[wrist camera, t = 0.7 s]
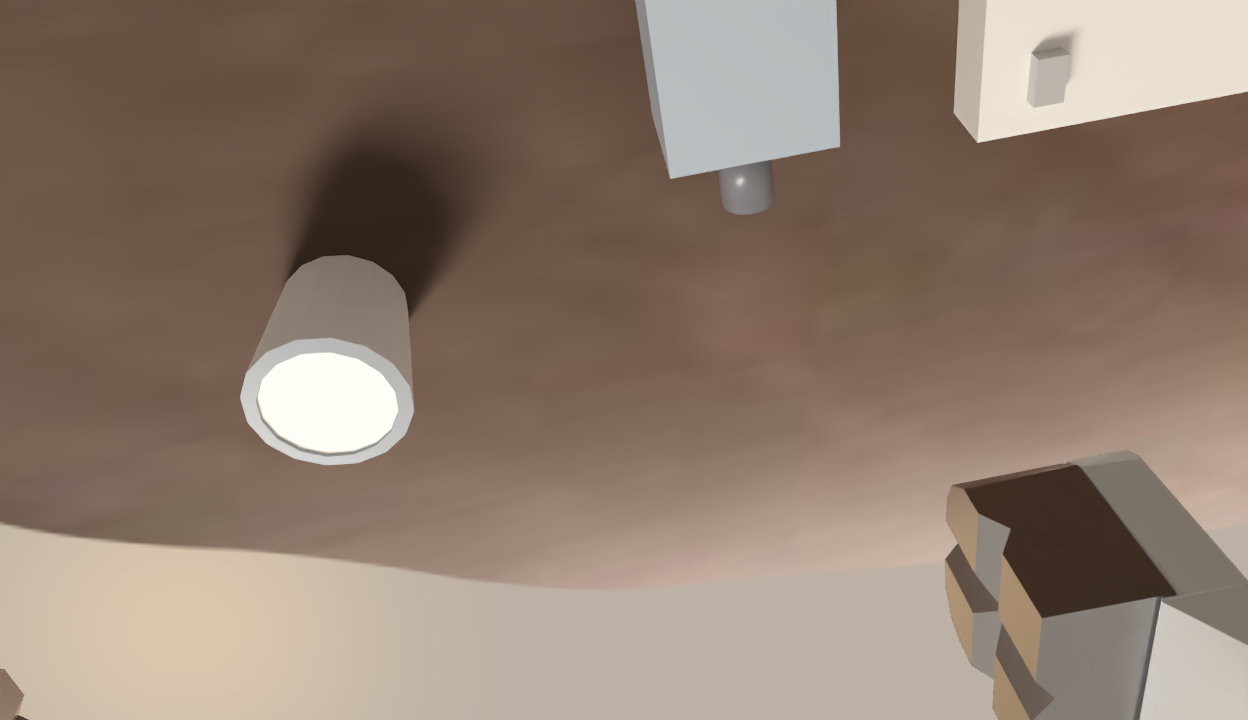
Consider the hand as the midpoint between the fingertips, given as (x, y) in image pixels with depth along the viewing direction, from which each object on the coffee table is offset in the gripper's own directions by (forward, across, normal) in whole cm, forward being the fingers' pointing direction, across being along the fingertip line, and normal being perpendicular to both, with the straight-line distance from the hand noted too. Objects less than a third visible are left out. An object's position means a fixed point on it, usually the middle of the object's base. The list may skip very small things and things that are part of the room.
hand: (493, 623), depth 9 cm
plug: (+35, -8, +5) cm, 36 cm away
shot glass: (+37, +10, +16) cm, 41 cm away
